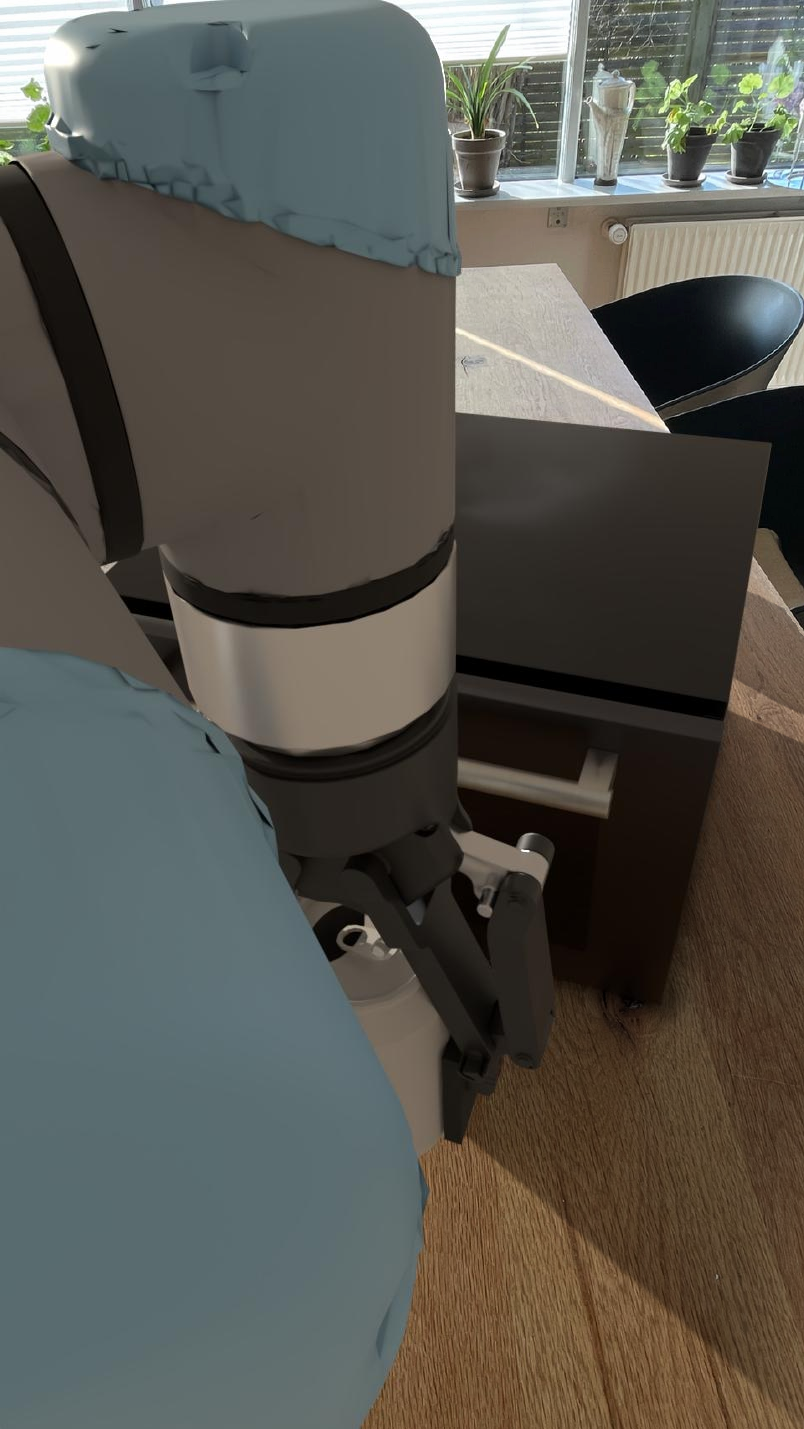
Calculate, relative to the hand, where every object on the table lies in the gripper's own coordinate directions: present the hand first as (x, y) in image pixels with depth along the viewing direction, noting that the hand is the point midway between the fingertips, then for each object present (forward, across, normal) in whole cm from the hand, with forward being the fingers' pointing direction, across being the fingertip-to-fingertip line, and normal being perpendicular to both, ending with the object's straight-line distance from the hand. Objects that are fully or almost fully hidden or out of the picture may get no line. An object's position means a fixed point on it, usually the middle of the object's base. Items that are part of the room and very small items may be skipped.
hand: (374, 1083), depth 42 cm
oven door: (+19, +8, -20) cm, 28 cm away
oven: (+19, +8, -39) cm, 44 cm away
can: (+1, 0, 0) cm, 1 cm away
